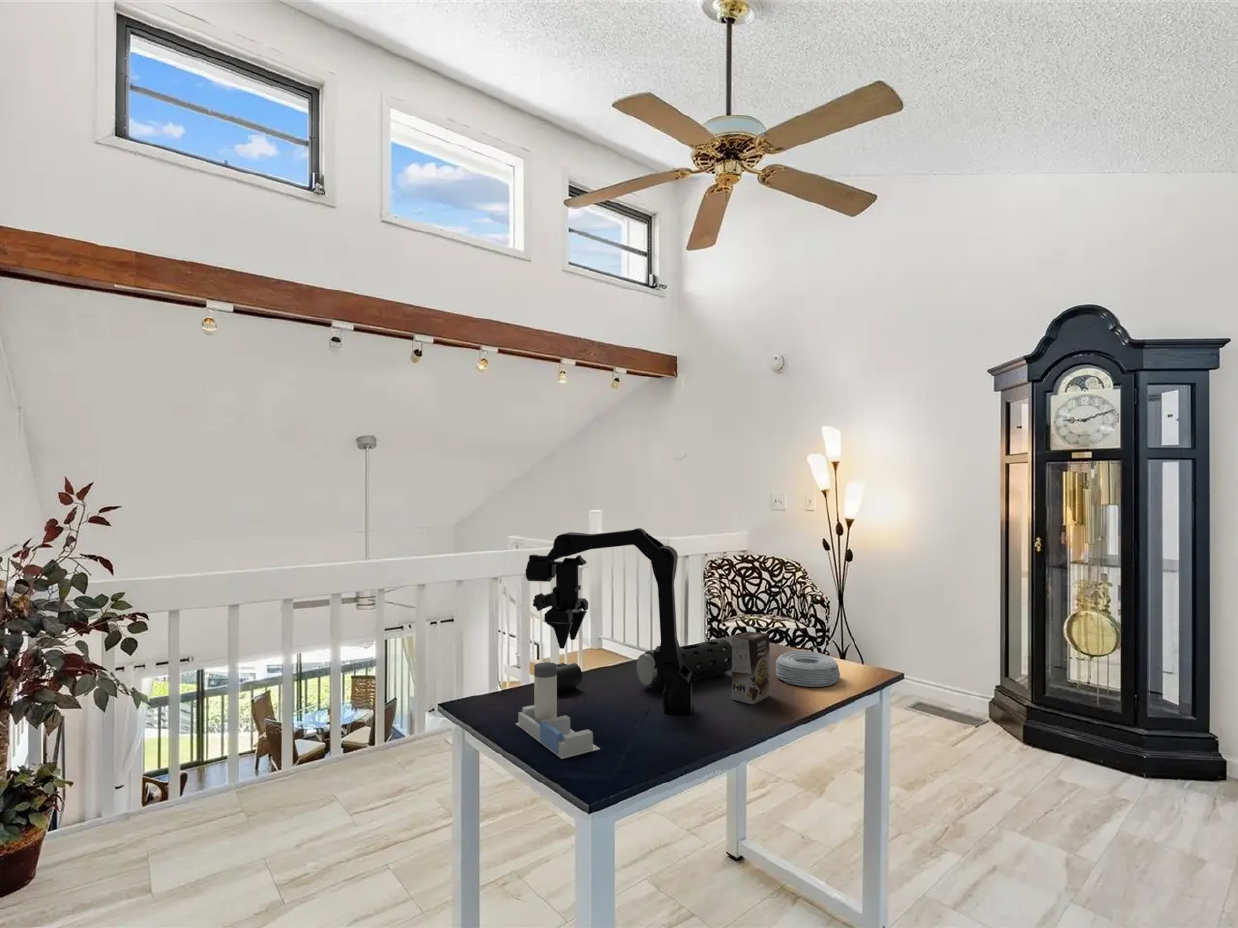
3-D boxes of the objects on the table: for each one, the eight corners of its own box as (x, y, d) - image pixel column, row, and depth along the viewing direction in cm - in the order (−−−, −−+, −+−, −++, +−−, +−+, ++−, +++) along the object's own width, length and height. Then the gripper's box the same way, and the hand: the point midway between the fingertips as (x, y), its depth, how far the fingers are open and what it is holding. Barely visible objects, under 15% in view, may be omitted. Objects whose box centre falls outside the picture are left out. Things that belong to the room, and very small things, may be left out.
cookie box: (753, 705, 167) (753, 640, 168) (731, 699, 171) (730, 636, 172) (771, 695, 174) (770, 633, 175) (749, 690, 178) (748, 629, 179)
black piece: (553, 698, 173) (553, 672, 173) (536, 692, 178) (536, 667, 178) (582, 690, 180) (582, 664, 180) (565, 684, 185) (565, 659, 185)
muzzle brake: (736, 678, 190) (736, 642, 190) (654, 695, 175) (654, 656, 175) (714, 670, 198) (714, 635, 198) (634, 686, 183) (634, 648, 184)
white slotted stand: (550, 719, 158) (550, 698, 158) (600, 752, 139) (600, 729, 139) (515, 726, 153) (515, 705, 154) (561, 762, 134) (561, 738, 134)
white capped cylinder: (559, 724, 152) (559, 662, 153) (552, 733, 147) (552, 669, 148) (538, 723, 153) (538, 661, 154) (531, 731, 148) (531, 667, 149)
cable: (806, 667, 201) (806, 647, 201) (854, 682, 186) (853, 660, 186) (763, 676, 192) (762, 655, 192) (809, 693, 177) (809, 670, 177)
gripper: (549, 576, 182) (549, 634, 181) (524, 587, 164) (524, 651, 163) (588, 577, 179) (588, 636, 179) (568, 588, 161) (568, 654, 161)
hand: (567, 643), depth 171 cm, fingers open, 9 cm apart
